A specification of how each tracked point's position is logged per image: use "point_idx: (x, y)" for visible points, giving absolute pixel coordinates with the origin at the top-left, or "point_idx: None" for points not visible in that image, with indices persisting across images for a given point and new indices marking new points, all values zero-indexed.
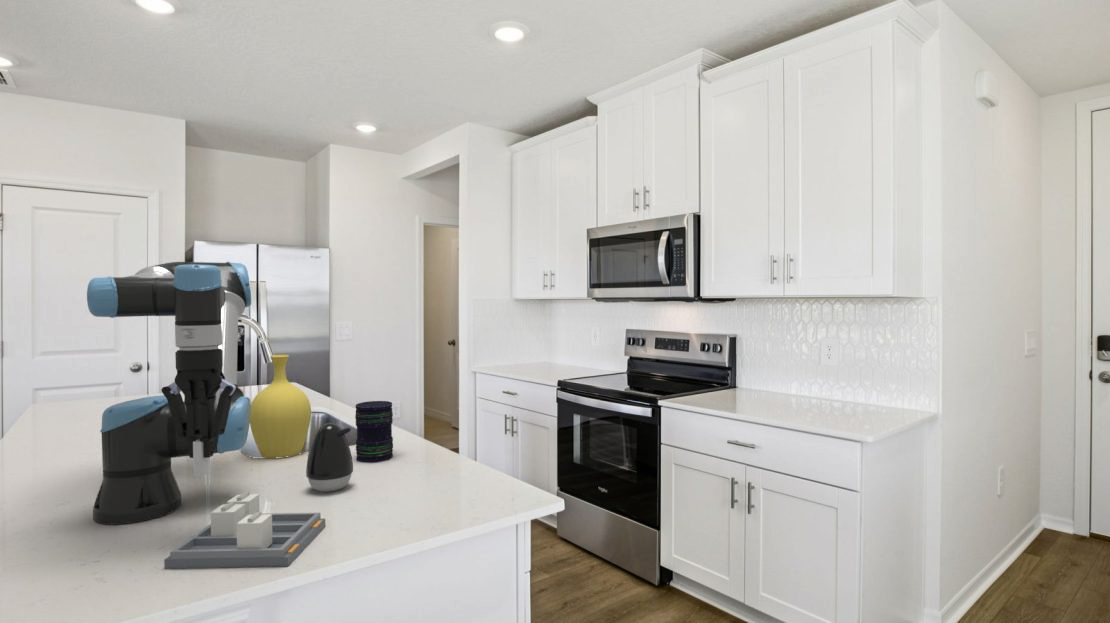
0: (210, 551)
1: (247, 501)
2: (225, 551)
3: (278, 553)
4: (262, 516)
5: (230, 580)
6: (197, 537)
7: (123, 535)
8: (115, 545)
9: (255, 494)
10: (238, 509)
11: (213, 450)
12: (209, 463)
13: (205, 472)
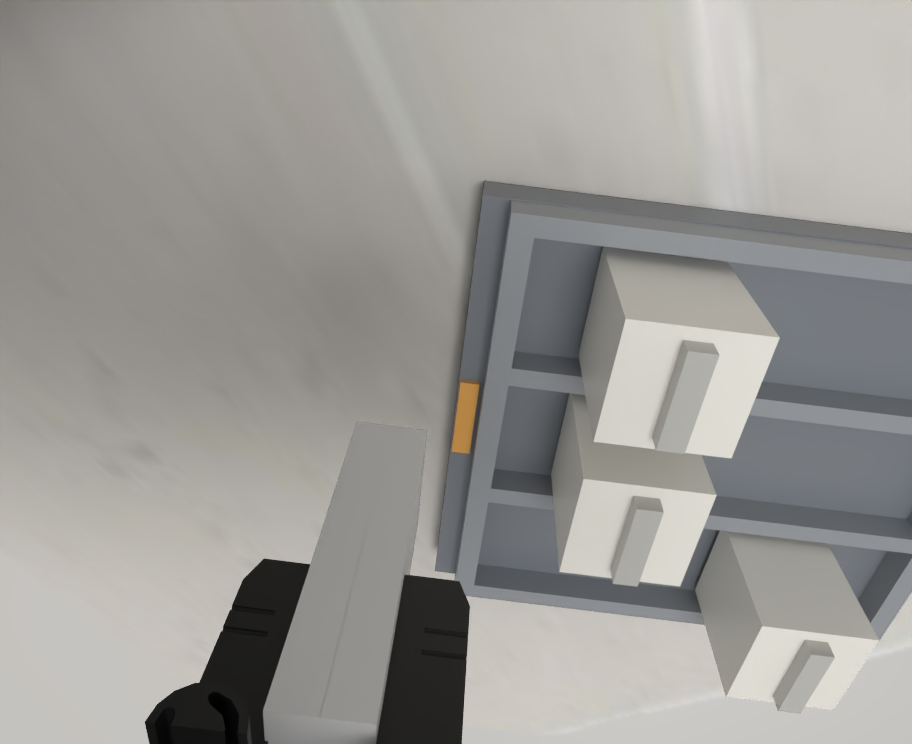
0: (605, 612)
1: (722, 456)
2: (661, 617)
3: None
4: (834, 654)
5: (689, 642)
6: (498, 494)
7: (11, 198)
8: (83, 318)
9: (753, 336)
10: (693, 549)
11: (467, 637)
12: (417, 489)
13: (419, 500)
